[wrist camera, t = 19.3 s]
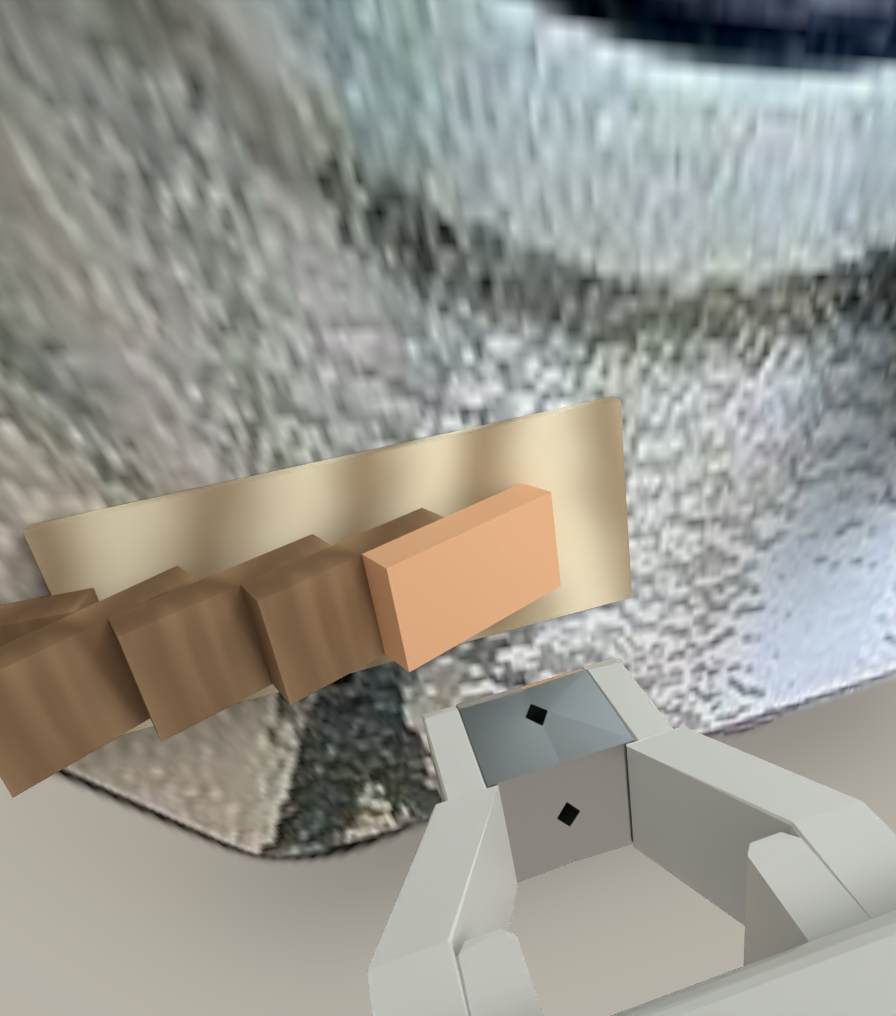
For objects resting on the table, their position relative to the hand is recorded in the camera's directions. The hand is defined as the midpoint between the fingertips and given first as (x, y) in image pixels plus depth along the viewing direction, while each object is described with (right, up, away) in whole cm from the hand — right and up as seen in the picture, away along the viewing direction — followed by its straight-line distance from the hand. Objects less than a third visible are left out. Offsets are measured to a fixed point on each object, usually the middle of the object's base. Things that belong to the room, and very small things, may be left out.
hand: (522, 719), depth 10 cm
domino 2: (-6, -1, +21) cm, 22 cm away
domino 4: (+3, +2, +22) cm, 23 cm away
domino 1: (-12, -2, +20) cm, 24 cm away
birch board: (-5, 0, +23) cm, 23 cm away
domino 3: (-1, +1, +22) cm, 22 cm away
